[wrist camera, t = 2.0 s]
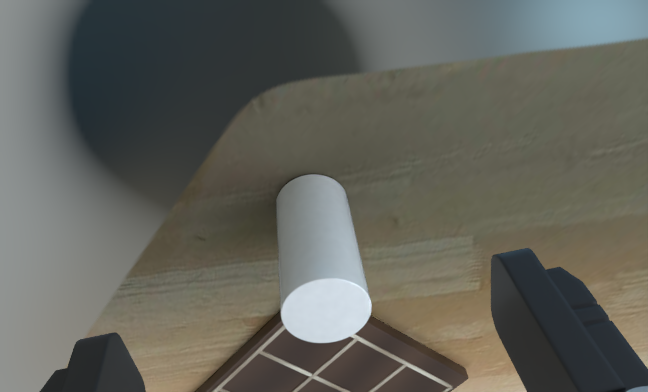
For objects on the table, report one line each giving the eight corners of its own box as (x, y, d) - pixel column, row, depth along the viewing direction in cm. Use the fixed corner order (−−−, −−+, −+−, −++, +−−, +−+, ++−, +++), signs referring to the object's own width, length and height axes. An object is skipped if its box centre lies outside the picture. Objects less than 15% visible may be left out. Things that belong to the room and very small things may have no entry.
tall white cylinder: (261, 210, 35) (261, 320, 27) (307, 160, 33) (321, 264, 26) (316, 243, 36) (331, 355, 29) (362, 198, 35) (390, 304, 27)
